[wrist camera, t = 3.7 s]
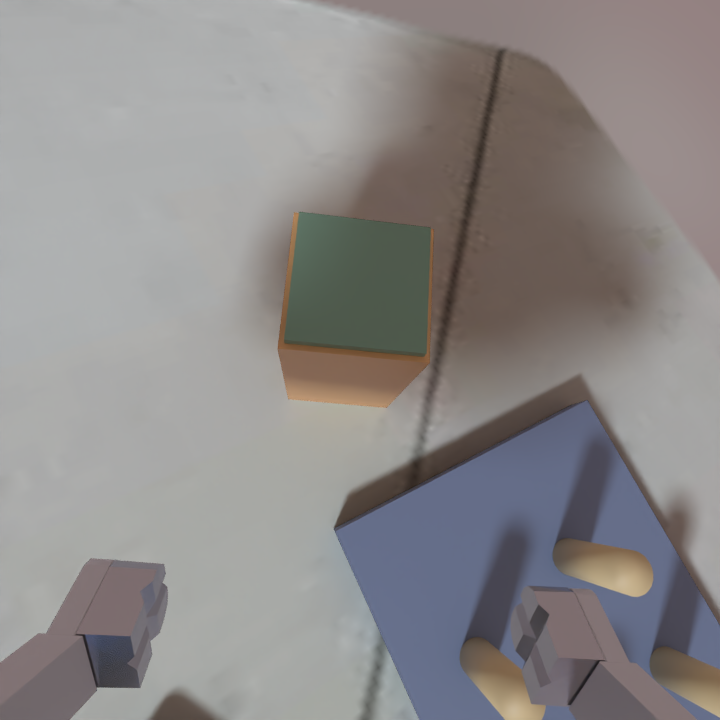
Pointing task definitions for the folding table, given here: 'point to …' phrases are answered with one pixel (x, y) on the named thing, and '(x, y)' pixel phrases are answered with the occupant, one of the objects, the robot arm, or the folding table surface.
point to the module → (355, 309)
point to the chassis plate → (527, 572)
